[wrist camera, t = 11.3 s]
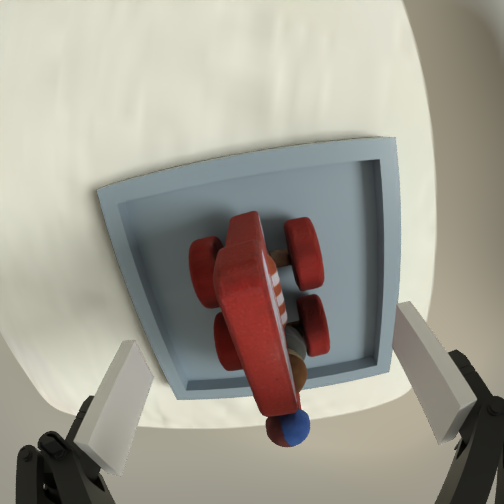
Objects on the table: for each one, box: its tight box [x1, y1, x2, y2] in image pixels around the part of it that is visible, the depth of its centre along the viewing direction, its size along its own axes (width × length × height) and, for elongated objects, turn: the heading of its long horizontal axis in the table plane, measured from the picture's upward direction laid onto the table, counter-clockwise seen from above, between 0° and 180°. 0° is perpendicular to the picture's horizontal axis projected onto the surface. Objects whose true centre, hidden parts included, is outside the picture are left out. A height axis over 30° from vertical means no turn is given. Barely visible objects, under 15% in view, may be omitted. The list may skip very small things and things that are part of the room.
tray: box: [97, 137, 401, 400], centre depth 20 cm, size 18×18×2 cm
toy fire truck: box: [188, 211, 330, 447], centre depth 15 cm, size 7×12×10 cm, turn 12°
